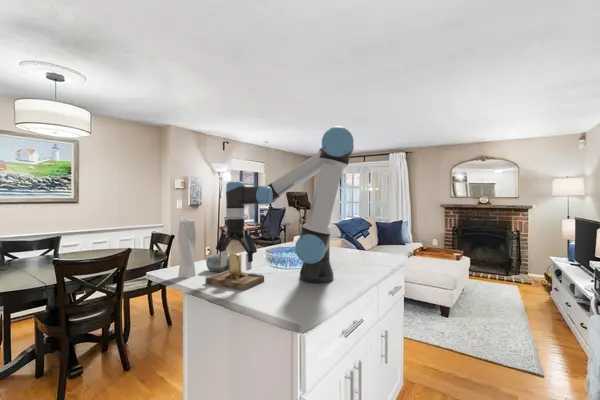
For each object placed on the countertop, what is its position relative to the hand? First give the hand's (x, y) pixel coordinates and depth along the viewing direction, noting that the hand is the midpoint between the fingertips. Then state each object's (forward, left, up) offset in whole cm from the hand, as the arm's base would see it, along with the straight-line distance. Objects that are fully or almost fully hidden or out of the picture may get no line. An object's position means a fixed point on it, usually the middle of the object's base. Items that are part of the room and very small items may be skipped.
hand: (235, 268), depth 123 cm
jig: (0, 0, -6) cm, 6 cm away
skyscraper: (+26, +3, -6) cm, 27 cm away
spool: (+19, -11, -6) cm, 23 cm away
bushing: (0, 0, -6) cm, 6 cm away
